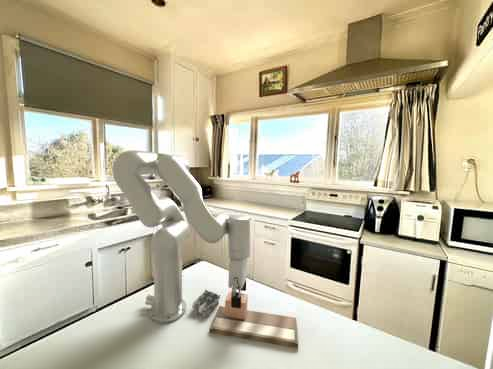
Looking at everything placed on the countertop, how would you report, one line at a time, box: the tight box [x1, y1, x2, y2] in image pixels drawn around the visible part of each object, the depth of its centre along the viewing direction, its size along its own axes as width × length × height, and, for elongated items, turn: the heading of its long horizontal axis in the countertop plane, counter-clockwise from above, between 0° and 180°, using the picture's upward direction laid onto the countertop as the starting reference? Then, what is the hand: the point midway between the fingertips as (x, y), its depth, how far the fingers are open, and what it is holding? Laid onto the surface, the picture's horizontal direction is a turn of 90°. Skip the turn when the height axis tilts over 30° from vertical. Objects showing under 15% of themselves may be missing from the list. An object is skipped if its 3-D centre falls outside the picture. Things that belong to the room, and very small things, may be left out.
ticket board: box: [208, 305, 299, 349], centre depth 72 cm, size 28×11×2 cm, turn 80°
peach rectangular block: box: [224, 291, 249, 320], centre depth 76 cm, size 7×5×6 cm
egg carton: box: [191, 289, 221, 318], centre depth 81 cm, size 11×8×4 cm
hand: (239, 298), depth 75 cm, fingers open, 9 cm apart
